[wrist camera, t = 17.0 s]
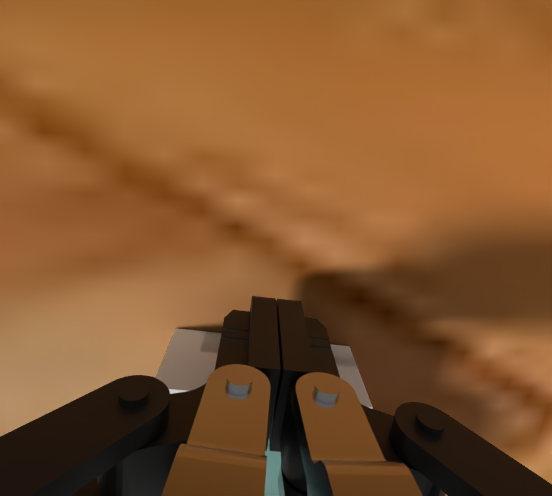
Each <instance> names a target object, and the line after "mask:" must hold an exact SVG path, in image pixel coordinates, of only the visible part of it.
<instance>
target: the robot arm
mask: <svg viewBox="0 0 552 496" xmlns="http://www.w3.org/2000/svg"><path fill="white" fill-rule="evenodd" d="M268 441H269V450H270V451H276V452H281V466H280V471H279V476H278V488H279V496H445V494H447V495H448V496H552V484H550V483H549V482H547V481H546V480H544V479H543V478H541V477H540V476H538V475H537V474H535V473H534V472H532V471H531V470H529V469H528V468H526V467H525V466H523V465H522V464H520V463H519V462H517V461H516V460H514V459H513V458H511V457H510V456H508V455H507V454H505V453H504V452H502V451H501V450H499V449H498V448H496V447H495V446H493V445H492V444H490V443H489V442H487V441H486V440H484V439H483V438H481V437H480V436H478V435H477V434H475V433H474V432H472V431H471V430H469V429H468V428H466V427H465V426H463V425H462V424H460V423H459V422H457V421H456V420H455V419H453V418H452V417H450V416H449V415H447V414H446V413H444V412H442V411H441V410H439V409H437V408H435V407H432V406H430V405H427V404H423V403H418V402H409V403H404V404H402V405H400V406H399V407H398V408H397V410H396V412H395V416H392V415H389V414H386V413H383V412H380V411H377V410H374V409H371V408H368V407H366V406H364V405H362V404H361V403H360V401H359V399H358V397H357V395H356V393H355V391H354V389H353V388H352V387H351V386H350V385H349V384H348V383H347V382H346V381H344V380H343V379H341V378H340V375H339V372H338V369H337V365H336V362H335V358H334V355H333V352H332V350H331V345H330V342H329V338H328V335H327V331H326V328H325V327H324V326H323V325H322V324H321V323H320V322H319V321H318V320H317V319H312V318H304V314H303V309H302V304H301V301H292V300H284V299H277V301H276V299H274V298H265V297H257V296H252V300H251V307H250V312H247V311H238V310H232V311H231V312H230V313H229V314H228V315H227V316H226V317H225V318H224V323H223V328H222V334H221V339H220V344H219V349H218V355H217V360H216V365H215V370H214V371H213V372H212V373H211V374H210V376H209V378H208V380H207V383H205V384H204V385H202V386H201V387H199V388H196V389H194V390H190V391H186V392H180V393H173V394H170V391H169V389H168V387H167V386H166V384H164V383H163V382H162V381H160V380H159V379H156V378H154V377H150V376H144V375H134V376H127V377H123V378H120V379H117V380H115V381H113V382H111V383H109V384H107V385H104V386H102V387H100V388H98V389H96V390H94V391H92V392H90V393H88V394H86V395H84V396H82V397H80V398H78V399H76V400H74V401H72V402H70V403H68V404H66V405H64V406H62V407H60V408H58V409H56V410H54V411H52V412H50V413H48V414H46V415H44V416H42V417H40V418H38V419H36V420H33V421H31V422H29V423H27V424H25V425H23V426H21V427H19V428H17V429H15V430H13V431H11V432H9V433H7V434H5V435H3V436H1V437H0V496H264V492H265V479H266V466H267V456H266V455H265V451H267V447H268Z"/></svg>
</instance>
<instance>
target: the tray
mask: <svg viewBox="0 0 552 496" xmlns="http://www.w3.org/2000/svg"><path fill="white" fill-rule="evenodd" d="M221 334H222V333H216V332H207V331H197V330H187V329H178V328H176V329H175V331H174V334H173V336H172V339H171V341H170V343H169V346H168V348H167V351H166V353H165V356H164V358H163V361H162V363H161V366H160V368H159V371H158V373H157V375H156V379H159V380H160V381H162V382H163V383H164V384H166V386H167V387H168V389H169V391H170V394H173V393H180V392H186V391H190V390H194V389H196V388H199V387H201V386H202V385H204V384H205V383H207V380H208V378H209V376H210V374H211V373H212V372H213V371H214V370H215V365H216V360H217V355H218V349H219V344H220V339H221ZM330 345H331V350H332V352H333V355H334V358H335V362H336V365H337V369H338V372H339V375H340V378H341V379H343V380H344V381H346V382H347V383H348V384H349V385H350V386H351V387H352V388H353V389H354V391H355V393H356V395H357V397H358V399H359V401H360V403H361V404H362V405H364V406H366V407H368V408H371V409H373V407H372V404H371V401H370V399H369V396H368V394H367V391H366V388H365V386H364V383H363V381H362V378H361V375H360V373H359V370H358V367H357V365H356V362H355V360H354V357H353V354H352V352H351V349H350V347H349V346H342V345H332V344H330ZM265 455H266V456H267V466H266V479H265V492H264V496H279V488H278V476H279V471H280V466H281V452H276V451H270V450H269V441H268V447H267V451H265Z"/></svg>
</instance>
